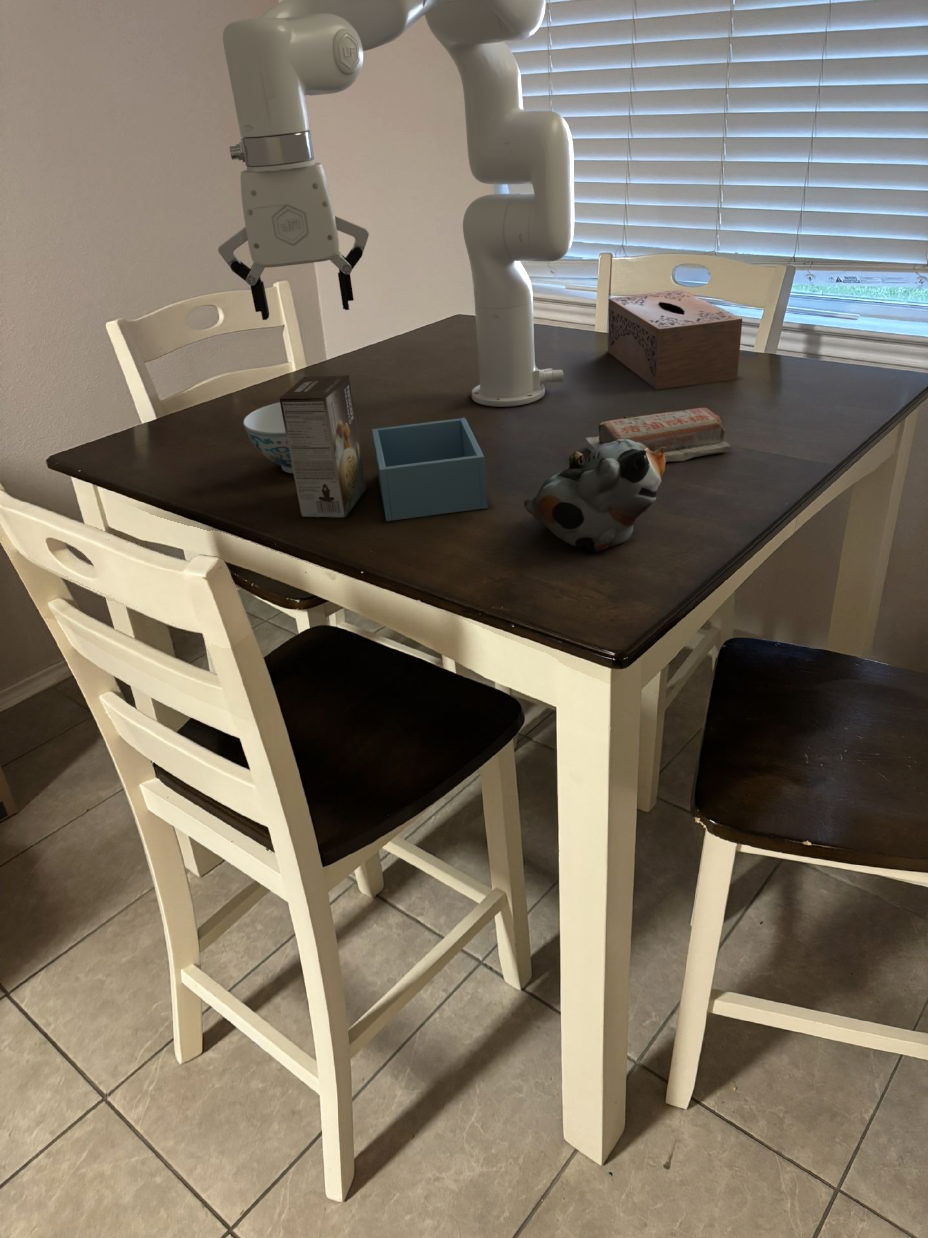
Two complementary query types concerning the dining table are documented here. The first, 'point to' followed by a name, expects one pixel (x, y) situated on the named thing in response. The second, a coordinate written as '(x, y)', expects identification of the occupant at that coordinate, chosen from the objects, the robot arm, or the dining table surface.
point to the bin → (429, 469)
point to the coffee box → (323, 445)
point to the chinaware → (269, 434)
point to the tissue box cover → (674, 338)
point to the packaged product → (668, 433)
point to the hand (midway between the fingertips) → (306, 312)
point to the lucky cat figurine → (600, 494)
